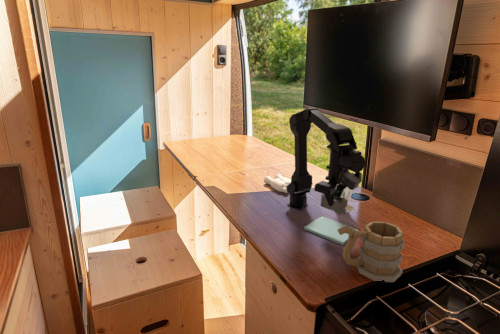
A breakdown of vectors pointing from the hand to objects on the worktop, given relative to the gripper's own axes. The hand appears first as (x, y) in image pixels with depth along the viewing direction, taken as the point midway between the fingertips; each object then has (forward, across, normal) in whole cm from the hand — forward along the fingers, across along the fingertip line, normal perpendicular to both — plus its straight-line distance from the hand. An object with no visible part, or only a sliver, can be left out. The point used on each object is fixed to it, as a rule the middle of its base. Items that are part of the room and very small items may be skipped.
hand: (333, 204), depth 126 cm
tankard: (+11, -13, -20) cm, 26 cm away
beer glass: (+11, +18, +6) cm, 22 cm away
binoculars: (+12, +20, +40) cm, 46 cm away
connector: (+1, 0, -1) cm, 2 cm away
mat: (+11, 0, 0) cm, 11 cm away
